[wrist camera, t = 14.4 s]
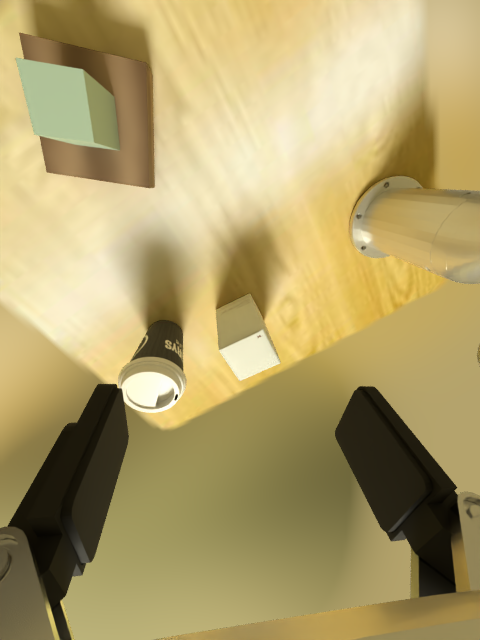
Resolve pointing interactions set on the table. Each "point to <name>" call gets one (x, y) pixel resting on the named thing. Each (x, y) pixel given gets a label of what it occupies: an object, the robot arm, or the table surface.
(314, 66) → the table surface
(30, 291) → the table surface
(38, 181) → the table surface
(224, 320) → the supplement box
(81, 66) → the block
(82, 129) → the sage block
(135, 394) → the coffee cup
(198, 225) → the table surface
